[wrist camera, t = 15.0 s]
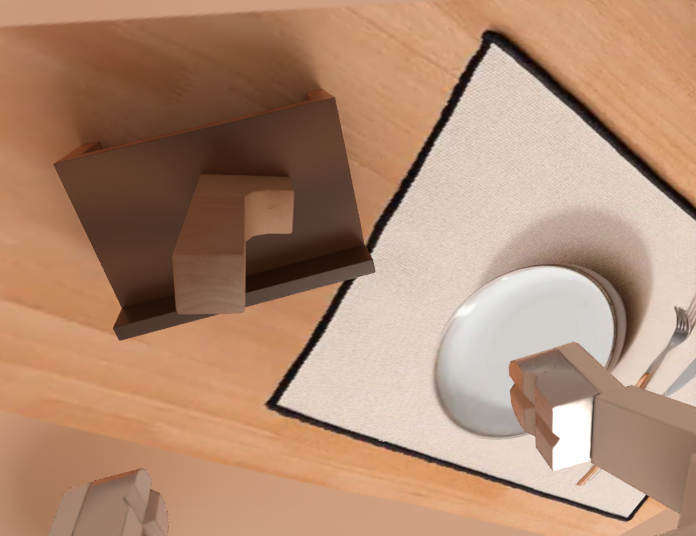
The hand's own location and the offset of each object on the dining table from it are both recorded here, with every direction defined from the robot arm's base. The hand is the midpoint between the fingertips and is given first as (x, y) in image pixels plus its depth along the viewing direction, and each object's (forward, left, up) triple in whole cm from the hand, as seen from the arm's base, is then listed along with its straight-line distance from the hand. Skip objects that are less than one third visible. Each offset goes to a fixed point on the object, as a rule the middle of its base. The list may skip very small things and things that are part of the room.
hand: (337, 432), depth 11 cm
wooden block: (+3, -3, -29) cm, 29 cm away
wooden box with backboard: (+4, -5, -35) cm, 36 cm away
